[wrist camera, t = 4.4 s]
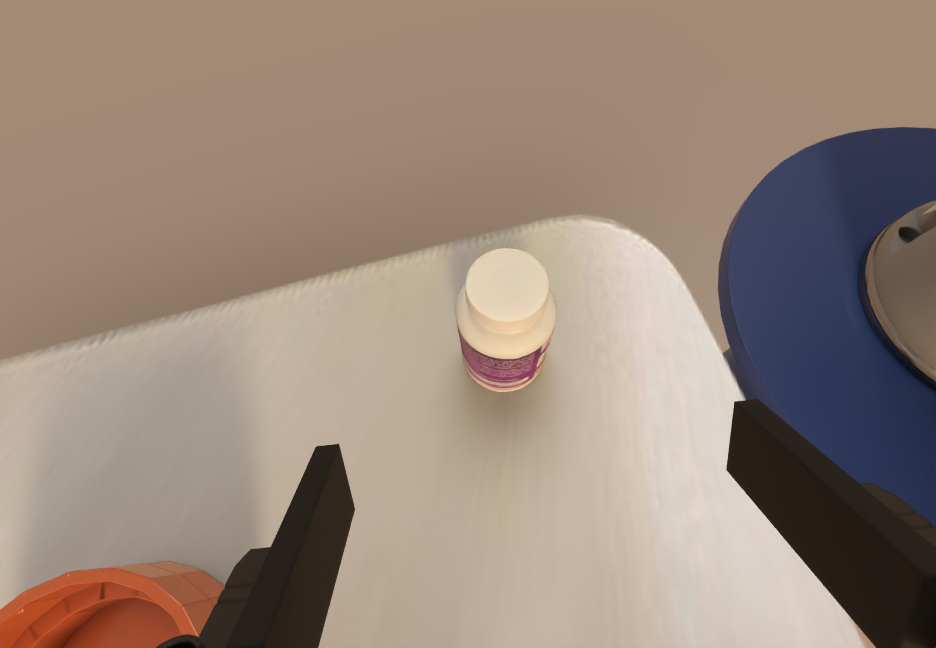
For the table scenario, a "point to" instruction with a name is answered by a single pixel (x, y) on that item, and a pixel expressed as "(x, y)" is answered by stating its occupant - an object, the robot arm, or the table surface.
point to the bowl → (111, 608)
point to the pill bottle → (505, 319)
